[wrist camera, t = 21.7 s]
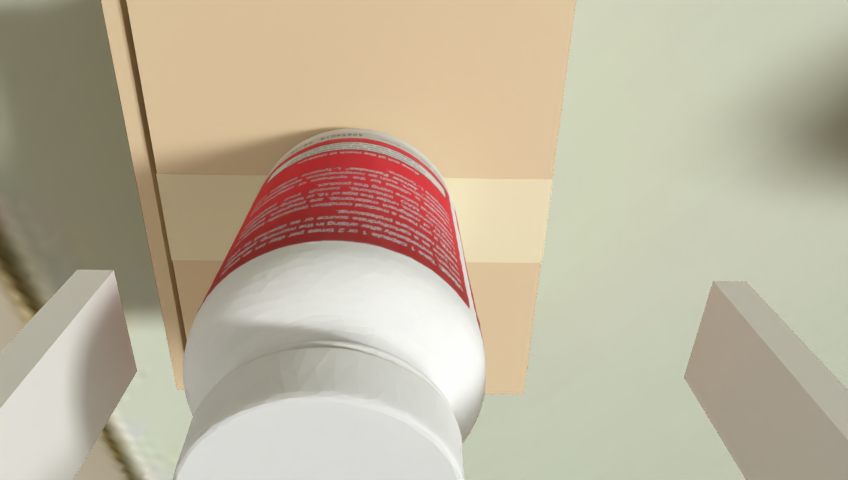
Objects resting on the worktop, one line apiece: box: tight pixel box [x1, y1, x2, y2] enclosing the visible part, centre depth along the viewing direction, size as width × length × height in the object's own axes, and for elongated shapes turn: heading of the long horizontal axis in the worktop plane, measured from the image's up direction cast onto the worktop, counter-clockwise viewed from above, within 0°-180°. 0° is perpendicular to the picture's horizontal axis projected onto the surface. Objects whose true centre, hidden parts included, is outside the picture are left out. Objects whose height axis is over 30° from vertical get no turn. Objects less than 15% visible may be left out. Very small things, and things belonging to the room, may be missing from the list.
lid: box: [101, 0, 576, 394], centre depth 20 cm, size 14×13×2 cm
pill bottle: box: [173, 128, 486, 480], centre depth 15 cm, size 6×6×11 cm
